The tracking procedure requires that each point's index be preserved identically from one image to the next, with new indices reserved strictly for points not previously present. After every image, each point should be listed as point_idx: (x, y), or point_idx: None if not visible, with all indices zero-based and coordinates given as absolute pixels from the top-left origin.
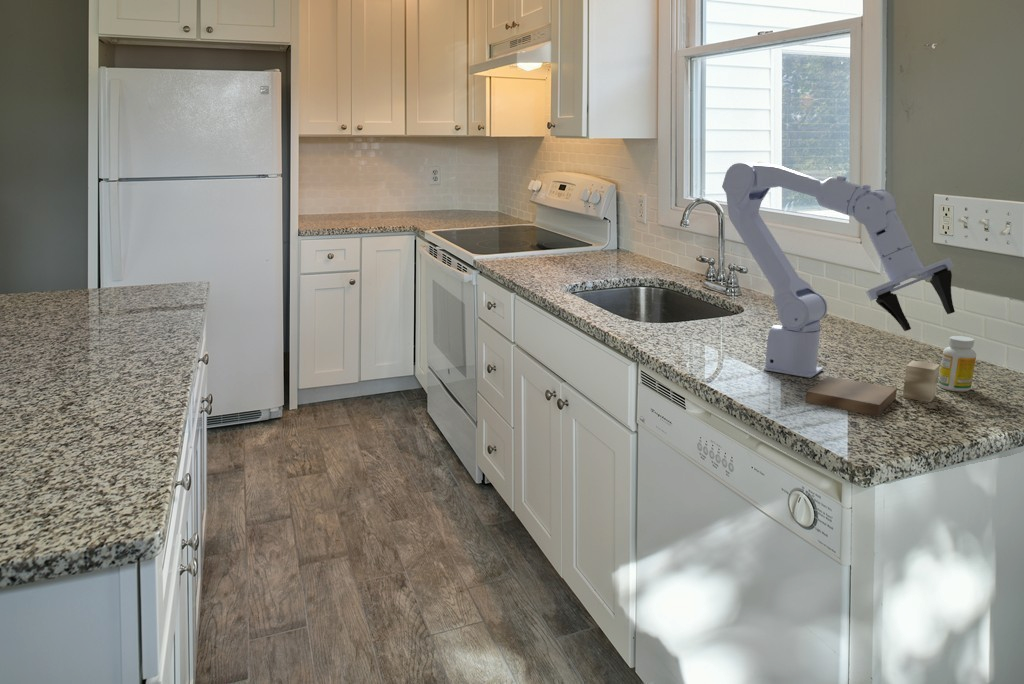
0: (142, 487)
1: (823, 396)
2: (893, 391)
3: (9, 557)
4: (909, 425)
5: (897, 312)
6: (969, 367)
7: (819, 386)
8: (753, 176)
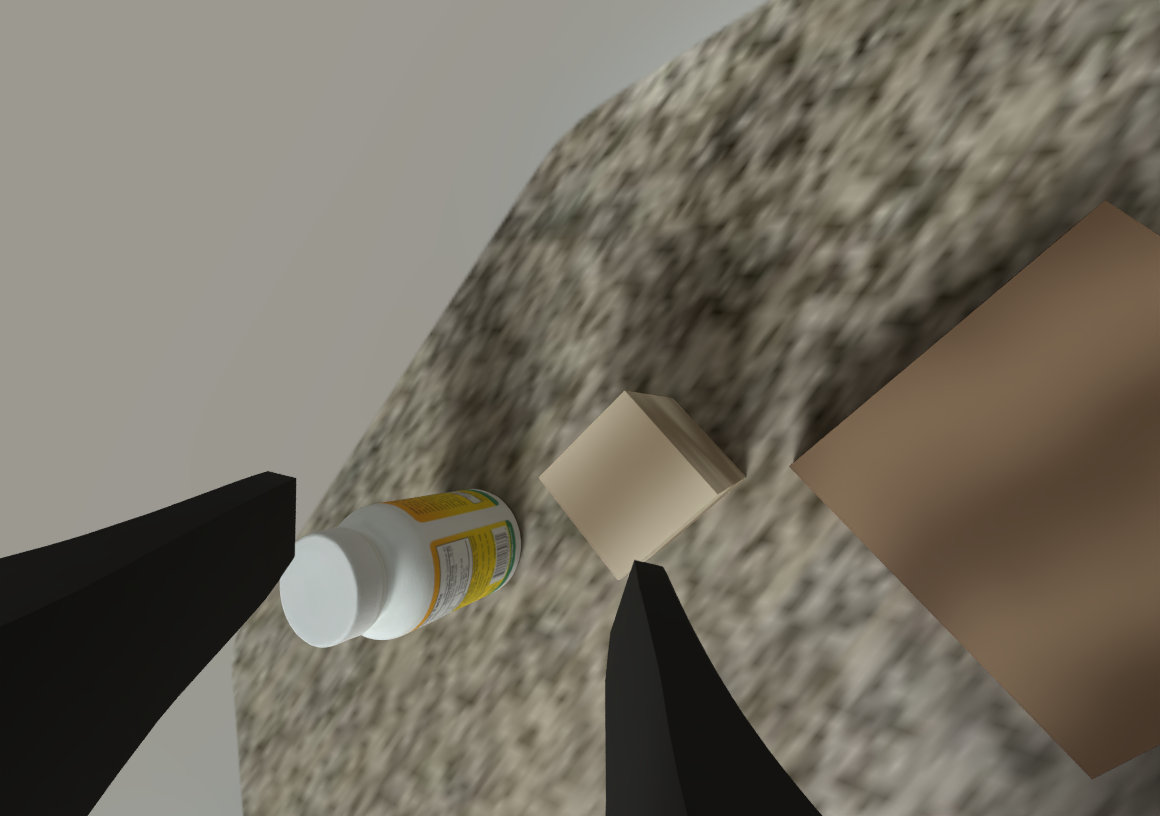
0: None
1: None
2: (846, 418)
3: None
4: (984, 99)
5: (724, 706)
6: (410, 498)
7: None
8: None
